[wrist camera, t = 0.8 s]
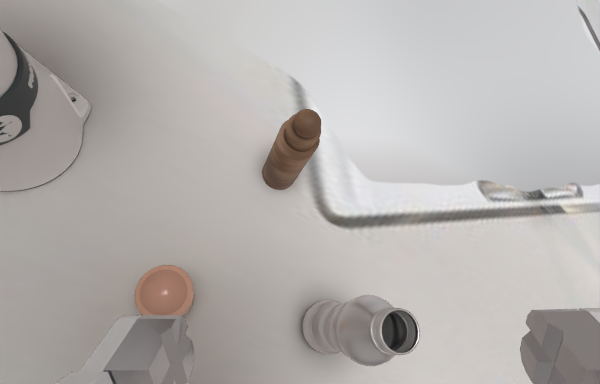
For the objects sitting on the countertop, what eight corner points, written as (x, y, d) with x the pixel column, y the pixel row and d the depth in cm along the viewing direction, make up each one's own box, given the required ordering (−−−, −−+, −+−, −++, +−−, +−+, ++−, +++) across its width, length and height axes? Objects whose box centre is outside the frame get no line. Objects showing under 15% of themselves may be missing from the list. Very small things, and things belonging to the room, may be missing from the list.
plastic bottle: (352, 338, 47) (448, 351, 29) (308, 361, 44) (384, 391, 26) (333, 292, 48) (414, 278, 30) (290, 312, 46) (350, 309, 28)
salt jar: (136, 295, 42) (120, 289, 33) (175, 264, 44) (170, 252, 36) (165, 331, 41) (156, 334, 33) (203, 298, 44) (204, 293, 35)
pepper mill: (255, 171, 51) (278, 110, 36) (279, 153, 53) (311, 89, 38) (277, 196, 51) (310, 145, 36) (301, 177, 53) (341, 121, 38)
